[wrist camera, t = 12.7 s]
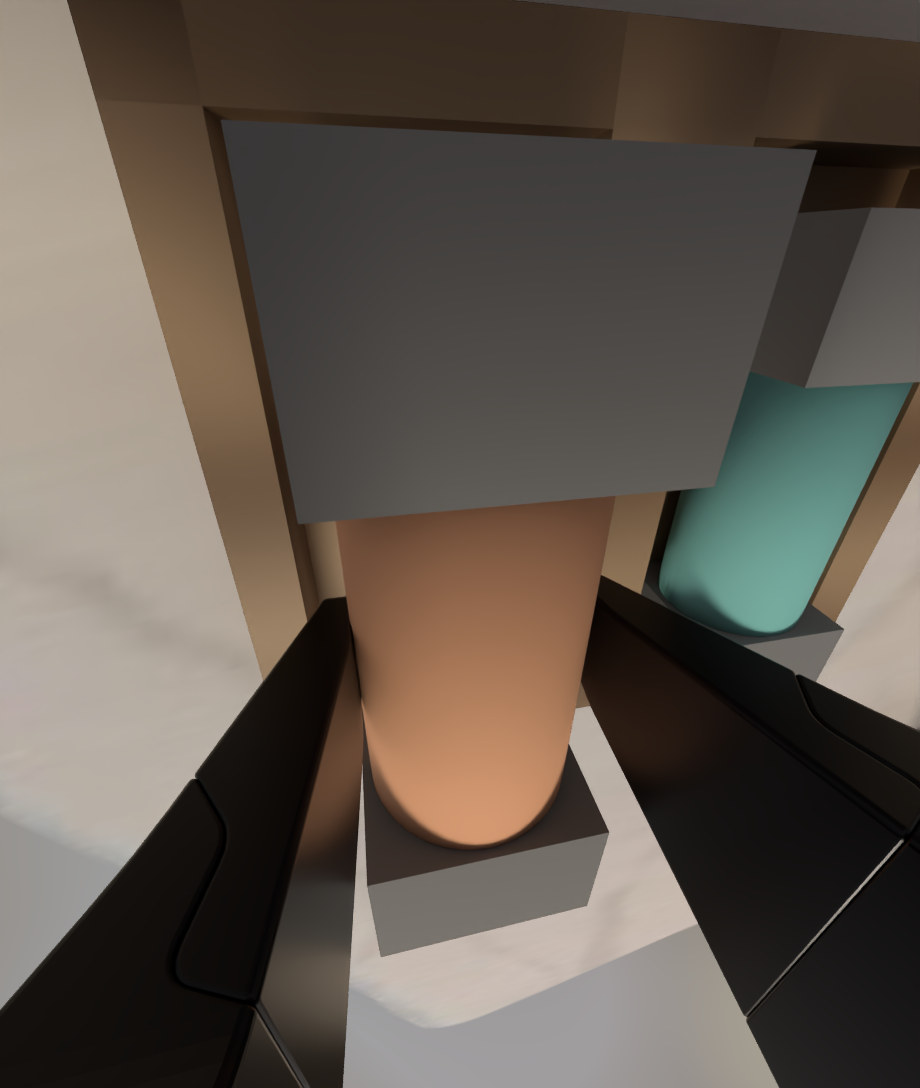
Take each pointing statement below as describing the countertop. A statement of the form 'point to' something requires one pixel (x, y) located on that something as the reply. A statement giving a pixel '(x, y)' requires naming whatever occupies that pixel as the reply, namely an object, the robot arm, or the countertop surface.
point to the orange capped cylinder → (494, 448)
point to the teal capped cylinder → (801, 437)
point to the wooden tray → (459, 106)
